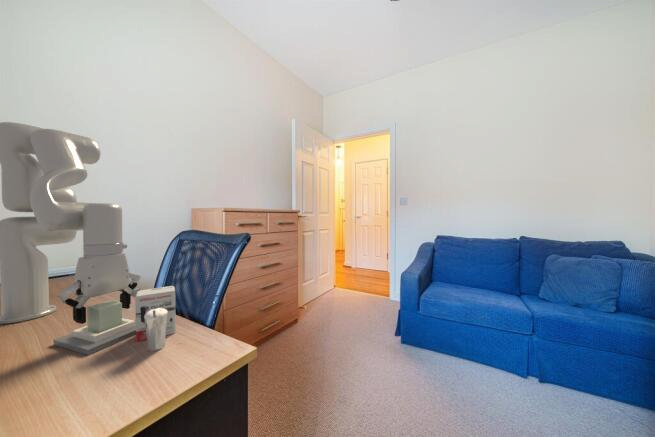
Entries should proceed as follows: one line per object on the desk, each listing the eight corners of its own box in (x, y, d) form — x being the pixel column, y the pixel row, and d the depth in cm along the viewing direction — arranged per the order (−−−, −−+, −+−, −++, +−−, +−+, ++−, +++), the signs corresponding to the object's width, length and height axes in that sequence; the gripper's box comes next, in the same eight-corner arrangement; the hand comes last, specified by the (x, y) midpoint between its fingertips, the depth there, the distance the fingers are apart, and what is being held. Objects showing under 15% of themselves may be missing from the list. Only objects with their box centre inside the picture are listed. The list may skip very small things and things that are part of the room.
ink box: (135, 342, 60) (134, 295, 60) (137, 334, 64) (136, 290, 64) (176, 333, 64) (175, 289, 64) (175, 326, 69) (174, 285, 68)
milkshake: (142, 356, 54) (141, 312, 54) (147, 345, 58) (146, 304, 58) (166, 351, 56) (165, 308, 56) (169, 340, 61) (168, 301, 60)
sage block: (87, 334, 62) (87, 307, 62) (110, 325, 67) (110, 300, 67) (99, 337, 60) (99, 309, 60) (122, 328, 65) (121, 302, 65)
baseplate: (53, 344, 59) (53, 333, 59) (119, 320, 72) (118, 311, 72) (88, 355, 55) (88, 343, 54) (151, 327, 68) (151, 318, 68)
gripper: (130, 245, 73) (130, 301, 73) (48, 254, 56) (49, 326, 57) (147, 246, 70) (148, 305, 70) (67, 256, 54) (68, 332, 54)
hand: (104, 314), depth 64 cm, fingers open, 9 cm apart
